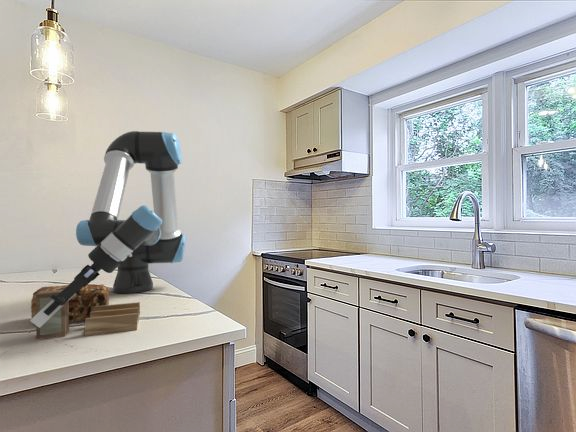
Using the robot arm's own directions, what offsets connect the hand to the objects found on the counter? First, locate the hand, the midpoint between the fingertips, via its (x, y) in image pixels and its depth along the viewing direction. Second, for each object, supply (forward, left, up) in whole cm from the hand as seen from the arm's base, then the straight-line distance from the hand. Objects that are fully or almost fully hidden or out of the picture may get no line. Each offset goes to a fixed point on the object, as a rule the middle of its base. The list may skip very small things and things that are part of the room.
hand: (44, 316), depth 86 cm
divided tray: (-11, +12, -5) cm, 17 cm away
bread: (-16, -6, -5) cm, 18 cm away
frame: (-1, +2, -5) cm, 5 cm away
